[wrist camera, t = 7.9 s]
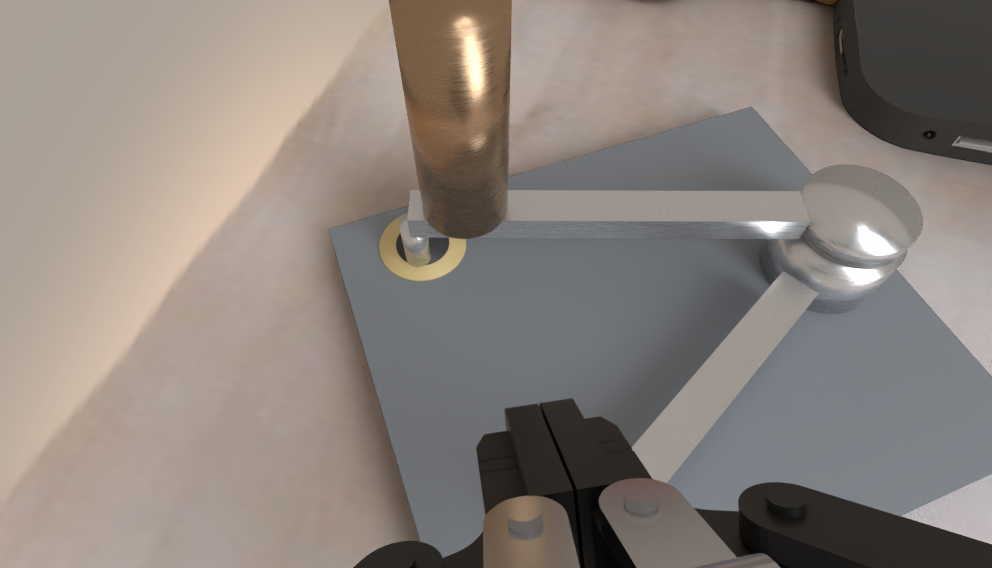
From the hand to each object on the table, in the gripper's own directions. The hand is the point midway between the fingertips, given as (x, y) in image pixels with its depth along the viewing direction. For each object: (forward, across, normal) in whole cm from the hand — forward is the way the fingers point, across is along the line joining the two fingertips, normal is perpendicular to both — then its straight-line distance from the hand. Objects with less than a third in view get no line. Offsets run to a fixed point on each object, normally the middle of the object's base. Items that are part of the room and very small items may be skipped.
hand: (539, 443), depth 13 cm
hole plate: (+11, -6, +2) cm, 12 cm away
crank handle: (+11, -6, -1) cm, 13 cm away
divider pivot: (+8, -8, +3) cm, 11 cm away
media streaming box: (+21, -28, -7) cm, 36 cm away
